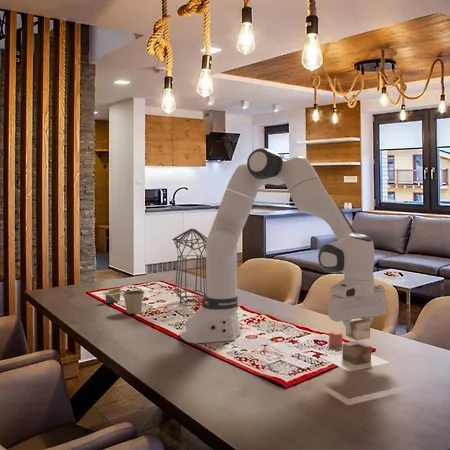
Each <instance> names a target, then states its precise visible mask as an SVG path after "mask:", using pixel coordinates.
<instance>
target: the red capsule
mask: <svg viewBox="0 0 450 450" xmlns="http://www.w3.org/2000/svg"><path fill="white" fill-rule="evenodd" d="M328 335H329V336H328V338H329V339H328V345H329V346H331V347H337V348H338V347H343V332H339V331H330V332H329V334H328Z"/></svg>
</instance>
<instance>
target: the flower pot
mask: <svg viewBox="0 0 450 450" xmlns="http://www.w3.org/2000/svg"><path fill="white" fill-rule="evenodd" d="M121 294H122V295H123V298H124V305H125V310H126V313H127V314H129V315H131V314H134V315H136V314H140V313H141V312H142V307H143V298H144V294H145V291H143V290H135V289H134V290H133V289H131V290H126V291H123V293H121Z"/></svg>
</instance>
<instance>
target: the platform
mask: <svg viewBox="0 0 450 450" xmlns="http://www.w3.org/2000/svg"><path fill="white" fill-rule="evenodd" d="M107 291H108V292H103V293H102V295H103V296H105V304H110V303H113V302H120V301H121V294H122V293H123V292H124V291H123V290H121V288H120V287H117V288H116V287H115V288H109V289H107Z"/></svg>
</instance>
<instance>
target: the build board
mask: <svg viewBox="0 0 450 450" xmlns="http://www.w3.org/2000/svg"><path fill="white" fill-rule="evenodd" d="M342 355H343V354H338V355H333V356H328V357H323V359H324V360H325V361H327V362H330V363H331V364H334V365H335V366H337V367H339V368H341V369H343V370H345V371H347V372H350V373H351V372H354V371H359V370H363V369H369V368H373V367H378V366H383V365H387V364H391V362H389V361H387V360H385V359H382V358H381V357H378V356H376V355H374V354H372V353H371V362H369V363H364V364H360V365H354V364H352V363H350V362H348V361H346V360H344V359H342Z"/></svg>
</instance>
